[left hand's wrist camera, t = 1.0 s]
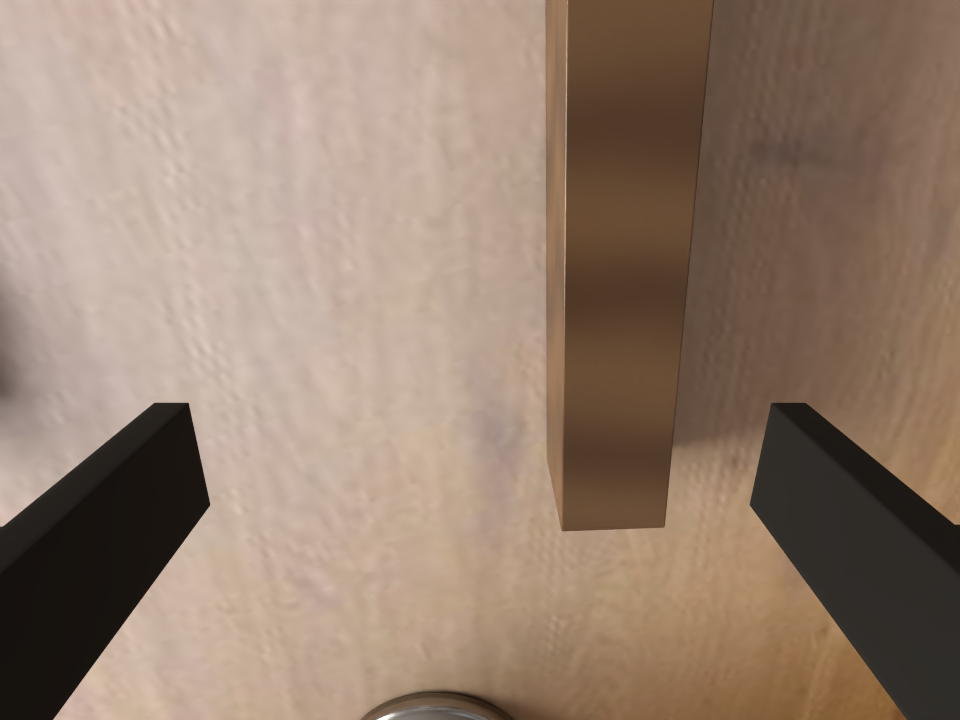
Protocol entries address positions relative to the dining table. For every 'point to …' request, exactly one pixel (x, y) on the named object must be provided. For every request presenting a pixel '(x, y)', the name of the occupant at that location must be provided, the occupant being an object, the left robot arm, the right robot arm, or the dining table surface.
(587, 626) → the dining table surface
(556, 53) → the post
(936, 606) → the left robot arm
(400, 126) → the dining table surface
